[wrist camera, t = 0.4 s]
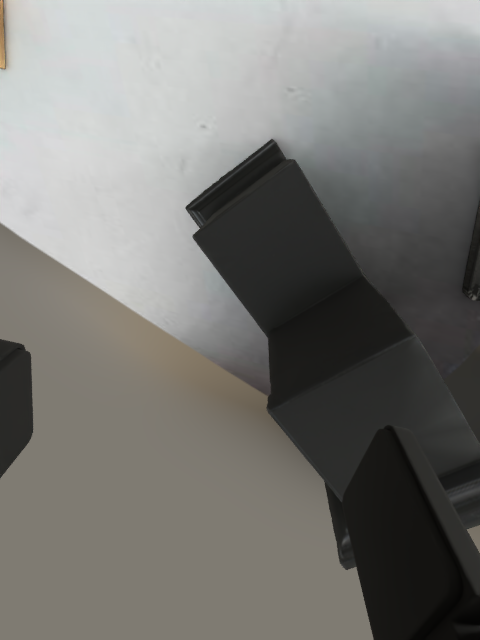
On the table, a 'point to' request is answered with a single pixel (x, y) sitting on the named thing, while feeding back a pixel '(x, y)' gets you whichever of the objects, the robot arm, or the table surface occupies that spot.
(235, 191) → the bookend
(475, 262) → the phone
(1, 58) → the ring stand
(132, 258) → the table surface
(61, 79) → the table surface
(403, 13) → the table surface
